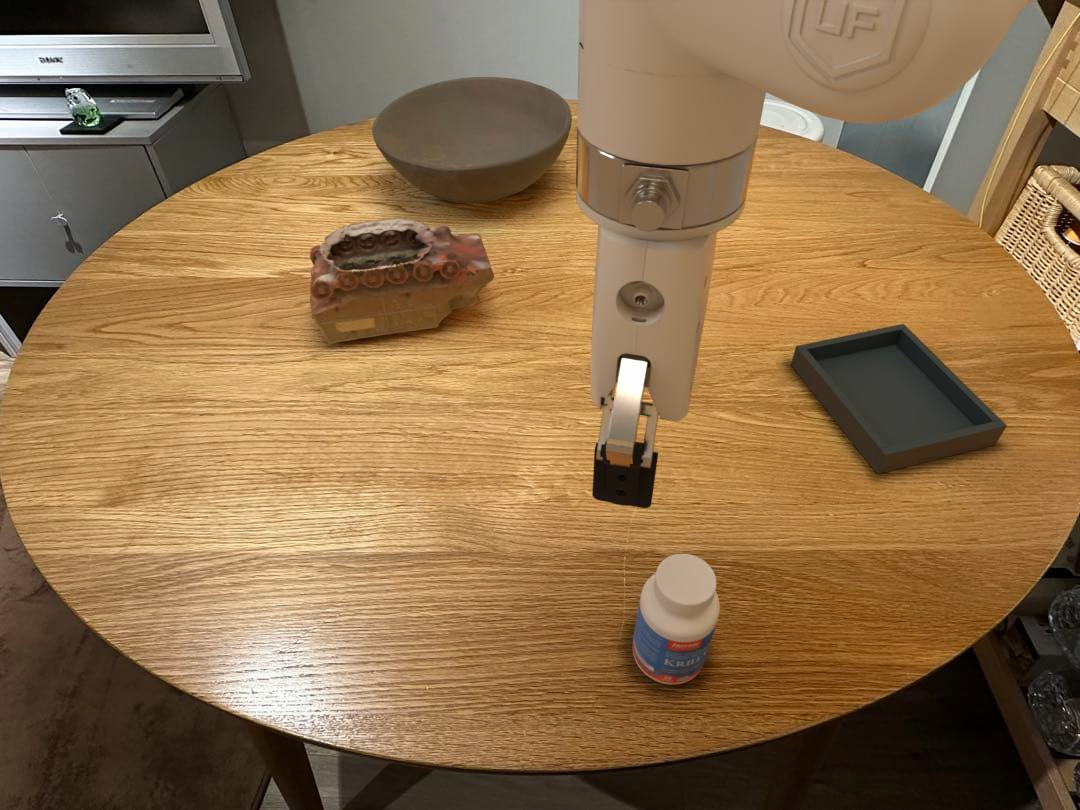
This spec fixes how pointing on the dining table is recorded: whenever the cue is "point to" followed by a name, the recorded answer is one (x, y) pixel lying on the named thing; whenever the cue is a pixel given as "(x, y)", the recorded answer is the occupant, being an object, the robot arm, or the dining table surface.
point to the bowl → (474, 136)
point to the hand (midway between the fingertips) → (634, 437)
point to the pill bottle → (676, 619)
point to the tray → (895, 398)
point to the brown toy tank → (393, 277)
